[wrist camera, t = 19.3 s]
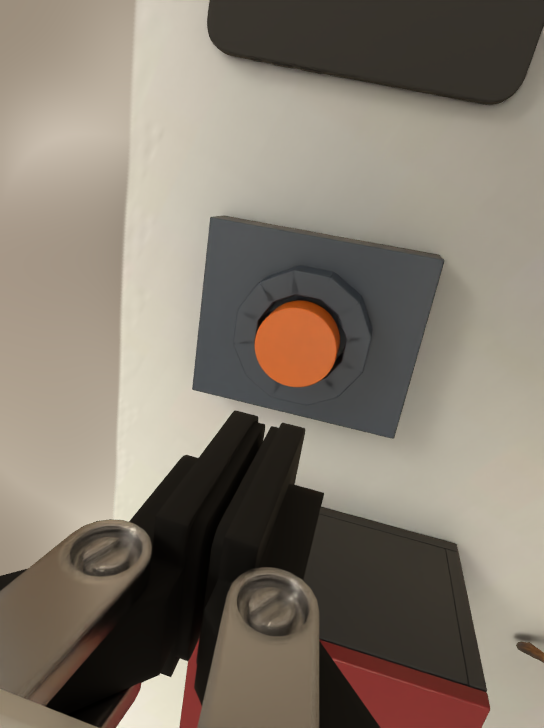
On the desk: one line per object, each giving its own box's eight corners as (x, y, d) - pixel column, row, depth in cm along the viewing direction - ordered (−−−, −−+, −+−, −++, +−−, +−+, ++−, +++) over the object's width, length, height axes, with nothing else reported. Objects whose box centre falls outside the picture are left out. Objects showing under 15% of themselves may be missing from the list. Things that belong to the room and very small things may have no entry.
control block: (439, 255, 25) (449, 264, 21) (393, 422, 29) (394, 455, 25) (223, 215, 27) (197, 218, 23) (204, 377, 30) (179, 401, 27)
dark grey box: (392, 715, 36) (395, 888, 27) (223, 659, 38) (173, 801, 29) (456, 543, 30) (487, 690, 21) (251, 487, 32) (200, 599, 23)
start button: (347, 309, 23) (344, 317, 22) (331, 383, 25) (327, 396, 23) (269, 293, 24) (260, 299, 22) (257, 366, 25) (248, 377, 24)
